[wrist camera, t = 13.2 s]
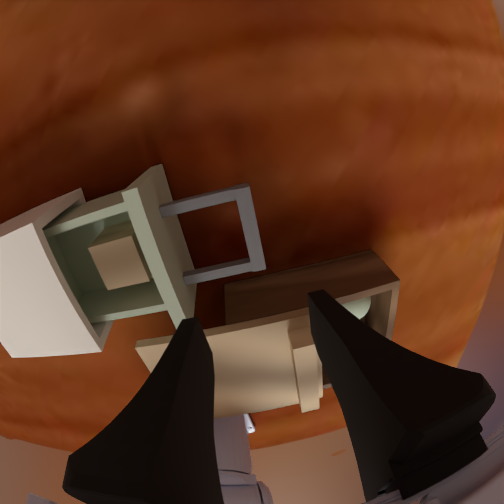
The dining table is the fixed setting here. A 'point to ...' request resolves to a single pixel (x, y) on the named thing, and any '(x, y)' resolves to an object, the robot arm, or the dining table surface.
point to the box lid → (257, 363)
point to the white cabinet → (41, 290)
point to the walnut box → (316, 278)
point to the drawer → (146, 248)
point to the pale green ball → (358, 306)
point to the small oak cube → (119, 257)
